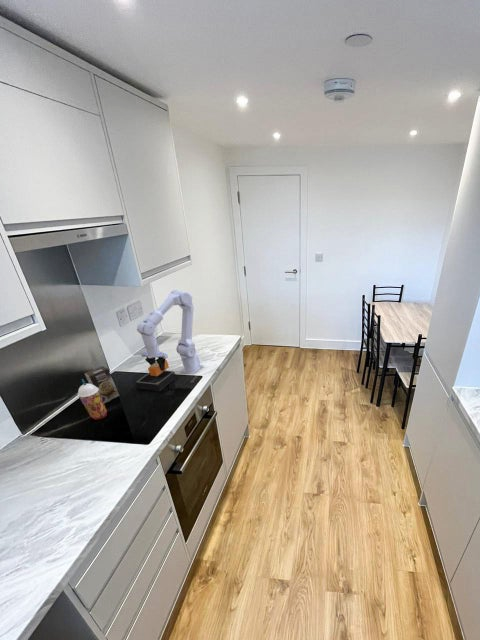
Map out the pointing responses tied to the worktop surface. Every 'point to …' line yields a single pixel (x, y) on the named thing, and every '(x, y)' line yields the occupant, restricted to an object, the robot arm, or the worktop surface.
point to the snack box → (157, 369)
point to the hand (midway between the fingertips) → (159, 369)
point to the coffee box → (103, 383)
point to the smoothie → (92, 400)
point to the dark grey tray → (156, 381)
